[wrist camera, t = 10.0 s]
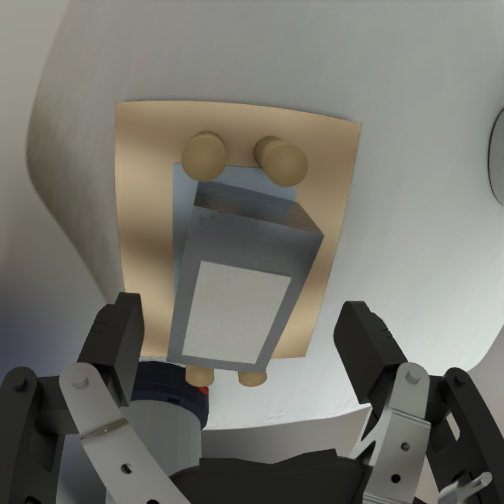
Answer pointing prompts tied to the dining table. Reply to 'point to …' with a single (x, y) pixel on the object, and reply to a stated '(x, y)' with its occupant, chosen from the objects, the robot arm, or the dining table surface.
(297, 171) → the wooden peg board
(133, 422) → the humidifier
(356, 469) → the robot arm
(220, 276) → the block
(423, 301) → the dining table surface
